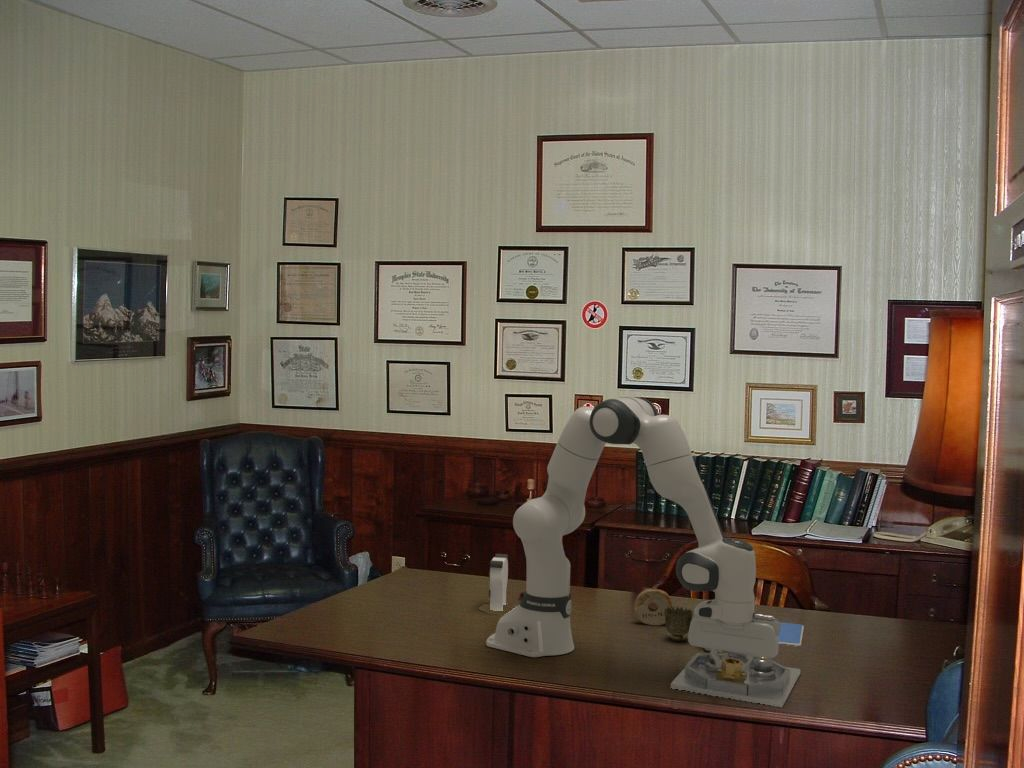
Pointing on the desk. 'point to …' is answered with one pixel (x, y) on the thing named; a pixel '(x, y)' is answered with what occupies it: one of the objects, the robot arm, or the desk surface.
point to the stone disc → (646, 612)
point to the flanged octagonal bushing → (731, 671)
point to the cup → (678, 622)
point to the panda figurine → (498, 581)
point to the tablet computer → (790, 634)
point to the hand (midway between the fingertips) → (731, 670)
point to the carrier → (761, 685)
